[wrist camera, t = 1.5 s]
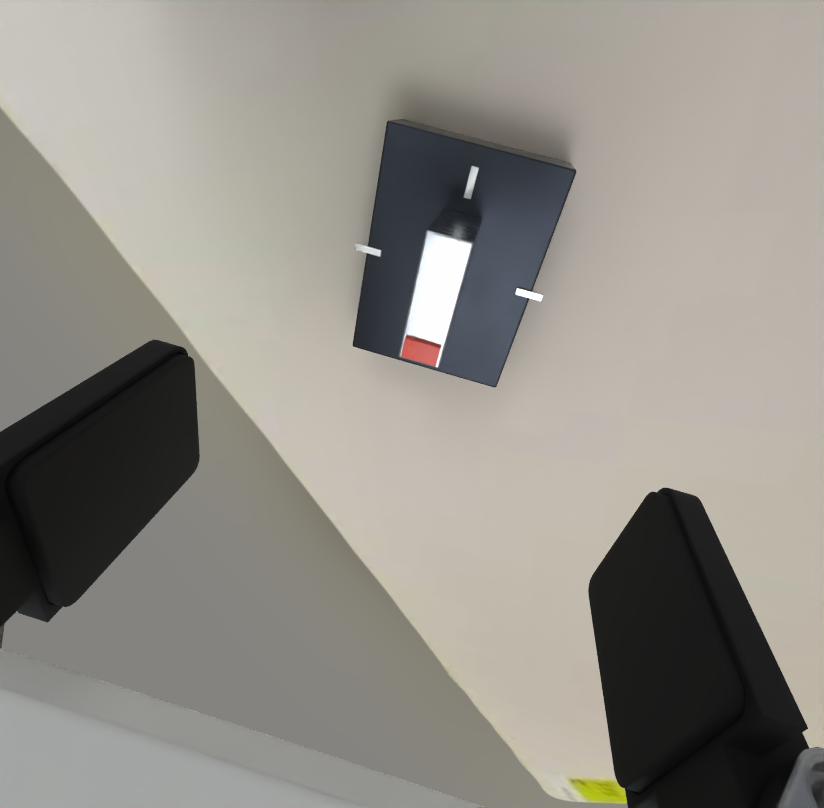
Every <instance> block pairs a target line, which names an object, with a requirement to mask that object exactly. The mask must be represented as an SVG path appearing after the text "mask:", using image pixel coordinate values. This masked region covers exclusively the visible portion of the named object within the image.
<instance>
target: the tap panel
mask: <svg viewBox="0 0 824 808" xmlns="http://www.w3.org/2000/svg"><path fill="white" fill-rule="evenodd" d="M575 174H576V170H575V168H574V167H573V166H572V164H570V163H567V162H564V161H560V160H556V159H552V158H548V157H545V156H541V155H537V154H533V153H529V152H525V151H522V150H518V149H514V148H510V147H506V146H503V145H499V144H495V143H491V142H487V141H483V140H480V139H476V138H472V137H468V136H464V135H461V134H457V133H453V132H449V131H445V130H441V129H438V128H434V127H430V126H426V125H422V124H419V123H415V122H411V121H407V120H403V119H401V120H392V121H388V122H387V126H386V132H385V139H384V145H383V152H382V158H381V165H380V171H379V178H378V184H377V190H376V197H375V203H374V210H373V216H372V223H371V229H370V236H369V242H368V246H367V245H364V244H360V243H356V247H355V250H358V251H361V252H365V253H367V255H366V262H365V268H364V275H363V281H362V288H361V294H360V301H359V307H358V314H357V320H356V327H355V333H354V340H353V346H354V347H357V348H360V349H364V350H367V351H371V352H374V353H378V354H381V355H385V356H388V357H391V358H395V359H398V360H402V361H405V362H409V363H412V364H416V365H419V366H423V367H426V368H429V369H433V370H436V371H440V372H443V373H447V374H450V375H454V376H457V377H460V378H464V379H467V380H471V381H474V382H478V383H481V384H485V385H488V386H492V387H496V386H497V383H498V381H499V378H500V375H501V373H502V370H503V367H504V365H505V362H506V359H507V357H508V354H509V351H510V349H511V346H512V343H513V341H514V338H515V335H516V333H517V330H518V327H519V324H520V322H521V319H522V316H523V314H524V311H525V308H526V306H527V303H528V300H529V298H530V299H534V300H537V301H541V300H542V298H543V294H540V293H537V292H533V291H532V290H533V287H534V284H535V282H536V279H537V276H538V274H539V271H540V268H541V266H542V263H543V260H544V258H545V255H546V252H547V249H548V247H549V244H550V241H551V239H552V236H553V233H554V231H555V228H556V225H557V223H558V220H559V217H560V215H561V212H562V209H563V207H564V204H565V201H566V199H567V196H568V193H569V191H570V188H571V185H572V182H573V180H574V177H575ZM443 209H449V210H453V211H456V212H460V213H464V214H467V215H471V216H475V217H478V218H481V219H482V224H481V227H480V231H479V234H478V238H477V241H476V245H475V248H474V252H473V255H472V259H471V262H470V266H469V269H468V273H467V276H466V280H465V283H464V287H463V290H462V294H461V297H460V301H459V305H458V308H457V312H456V315H455V319H454V322H453V326H452V329H451V332H450V335H449V338H448V341H447V344H446V347H445V350H444V353H443V356H442V359H441V362H440V365H439V367H438V368H436V367H432V366H429V365H425V364H422V363H418V362H415V361H412V360H408V359H405V358H401V357H399V352H400V347H401V342H402V338H403V333H404V329H405V324H406V320H407V315H408V311H409V306H410V302H411V297H412V293H413V288H414V284H415V279H416V275H417V270H418V265H419V261H420V256H421V252H422V247H423V243H424V238H425V234H426V231H427V230H428V228H429V227H430V226H431V224H432V223H433V222H434V221H435V219H436V218H437V217H438V216H439V214H440V213H441V212H442V211H443Z"/></svg>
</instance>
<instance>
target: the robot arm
mask: <svg viewBox="0 0 824 808" xmlns="http://www.w3.org/2000/svg"><path fill="white" fill-rule="evenodd" d="M198 463H199V438H198V421H197V402H196V384H195V367H194V361H193V359H192V358H191V357H189V356H188V353H187V351H186V349H184V348H183V347H180V346H176V345H173V344H169V343H166V342H162V341H159V340H152V341H149V342H148V343H146V344H144V345H143V346H141V347H139V348H138V349H136V350H135V351H133V352H131V353H130V354H128V355H126V356H125V357H123V358H121V359H120V360H118V361H116V362H115V363H113V364H111V365H110V366H108V367H107V368H105V369H103V370H102V371H100V372H98V373H97V374H95V375H93V376H92V377H90V378H88V379H87V380H85V381H83V382H82V383H80V384H78V385H77V386H75V387H74V388H72V389H70V390H69V391H67V392H65V393H64V394H62V395H61V396H59V397H57V398H55V399H54V400H52V401H50V402H49V403H47V404H46V405H44V406H42V407H41V408H39V409H37V410H36V411H34V412H32V413H31V414H29V415H28V416H26V417H24V418H23V419H21V420H19V421H18V422H16V423H14V424H13V425H11V426H9V427H8V428H6V429H4V430H3V431H1V432H0V808H486V807H483V806H480V805H477V804H474V803H471V802H468V801H465V800H462V799H459V798H456V797H453V796H450V795H447V794H444V793H441V792H438V791H435V790H432V789H429V788H426V787H423V786H420V785H417V784H415V783H412V782H408V781H405V780H403V779H400V778H396V777H394V776H391V775H388V774H384V773H381V772H378V771H375V770H372V769H369V768H366V767H363V766H360V765H357V764H354V763H351V762H348V761H345V760H342V759H339V758H336V757H333V756H330V755H327V754H324V753H321V752H318V751H315V750H312V749H309V748H306V747H303V746H300V745H297V744H294V743H291V742H288V741H285V740H282V739H278V738H276V737H272V736H270V735H267V734H264V733H260V732H258V731H255V730H251V729H248V728H245V727H242V726H239V725H236V724H233V723H230V722H227V721H224V720H221V719H218V718H215V717H212V716H209V715H206V714H203V713H200V712H196V711H194V710H191V709H188V708H185V707H181V706H179V705H175V704H172V703H169V702H166V701H163V700H160V699H157V698H154V697H151V696H148V695H144V694H142V693H138V692H135V691H132V690H129V689H126V688H123V687H120V686H117V685H114V684H111V683H107V682H105V681H101V680H98V679H95V678H92V677H89V676H86V675H83V674H80V673H77V672H74V671H71V670H67V669H65V668H61V667H58V666H55V665H52V664H49V663H46V662H43V661H40V660H37V659H34V658H31V657H27V656H24V655H21V654H18V653H14V652H11V651H8V650H4V649H1V646H2V639H3V631H4V623H5V622H6V621H7V620H8V619H9V618H10V617H11V616H12V615H13V614H14V613H15V612H16V611H18V613H20V614H23V615H27V616H30V617H33V618H36V619H39V620H42V621H45V622H49V621H50V619H51V618H52V617H53V616H54V615H55V614H56V613H57V612H58V611H59V610H60V609H61V608H62V607H63V606H64V607H67V606H70V605H72V604H73V603H75V602H76V601H77V600H78V599H79V598H80V597H81V596H82V595H83V594H84V592H86V590H87V589H88V588H89V587H90V586H91V585H92V584H93V583H94V582H95V580H96V579H97V578H98V577H99V576H100V575H101V574H102V573H103V572H104V571H105V570H106V569H107V567H108V566H109V565H110V564H111V563H112V562H113V561H114V560H115V559H116V558H117V556H118V555H119V554H120V553H121V552H122V551H123V550H124V549H125V548H126V547H127V546H128V544H129V543H130V542H131V541H132V540H133V539H134V538H135V537H136V536H137V535H138V533H139V532H140V531H141V530H142V529H143V528H144V527H145V526H146V525H147V524H148V523H149V521H150V520H151V519H152V518H153V517H154V516H155V515H156V514H157V513H158V512H159V510H160V509H161V508H162V507H163V506H164V505H165V504H166V503H167V502H168V500H169V499H170V498H171V497H172V496H173V495H174V494H175V493H176V492H177V491H178V490H179V489H180V487H181V486H182V485H183V484H184V483H185V482H186V481H187V480H188V479H189V477H190V476H191V475H192V474H193V473H194V472H195V470H196V468H197V466H198ZM589 600H590V607H591V614H592V621H593V628H594V635H595V641H596V648H597V655H598V662H599V669H600V676H601V683H602V690H603V696H604V703H605V710H606V717H607V724H608V731H609V738H610V745H611V751H612V758H613V765H614V772H615V776H616V779H617V782H618V784H619V785H620V786H621V787H623V788H625V791H626V798H627V804H628V808H824V748H819V747H814V748H810V749H809V746H808V744H807V742H806V740H805V738H804V736H803V733H802V732H803V731H805V730H806V729H808V727H807V725H806V723H805V721H804V719H803V717H802V714H801V712H800V710H799V708H798V706H797V704H796V702H795V700H794V697H793V695H792V693H791V691H790V689H789V687H788V685H787V683H786V681H785V678H784V676H783V674H782V672H781V670H780V668H779V666H778V664H777V662H776V659H775V657H774V655H773V653H772V651H771V649H770V647H769V645H768V642H767V640H766V638H765V636H764V634H763V632H762V630H761V628H760V626H759V623H758V621H757V619H756V617H755V615H754V613H753V611H752V609H751V606H750V604H749V602H748V600H747V598H746V596H745V594H744V592H743V590H742V587H741V585H740V583H739V581H738V579H737V577H736V575H735V573H734V570H733V568H732V566H731V564H730V562H729V560H728V558H727V556H726V554H725V551H724V549H723V547H722V545H721V543H720V541H719V539H718V537H717V535H716V532H715V530H714V528H713V526H712V524H711V522H710V520H709V518H708V515H707V513H706V511H705V509H704V507H703V505H702V503H701V501H700V500H699V498H698V497H696V496H694V495H690V494H687V493H684V492H680V491H677V490H673V489H670V488H662V489H660V490H659V491H658V492H650V493H649V494H648V495H647V496H646V497H645V499H644V500H643V502H642V503H641V505H640V506H639V508H638V509H637V511H636V512H635V514H634V515H633V517H632V518H631V519H630V521H629V522H628V524H627V525H626V527H625V528H624V530H623V531H622V533H621V534H620V536H619V537H618V539H617V540H616V541H615V543H614V544H613V546H612V547H611V549H610V550H609V552H608V553H607V555H606V556H605V558H604V559H603V561H602V562H601V563H600V565H599V566H598V568H597V569H596V571H595V572H594V574H593V575H592V577H591V580H590V583H589Z"/></svg>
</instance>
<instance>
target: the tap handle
mask: <svg viewBox="0 0 824 808" xmlns="http://www.w3.org/2000/svg"><path fill="white" fill-rule="evenodd" d="M481 224H482V219H481V218H478V217H475V216H471V215H467V214H464V213H460V212H456V211H453V210H449V209H443V211H442V212H441V213H440V214H439V216H438V217H437V218H436V219H435V221H434V222H433V223H432V224H431V226H430V227H429V228H428V230H427V231H426V234H425V238H424V243H423V247H422V252H421V256H420V261H419V265H418V270H417V275H416V279H415V284H414V288H413V293H412V297H411V302H410V306H409V311H408V315H407V320H406V324H405V329H404V333H403V338H402V342H401V347H400V352H399V357H401V358H405V359H408V360H412V361H415V362H418V363H422V364H425V365H429V366H432V367H436V368H438V367H439V365H440V362H441V359H442V356H443V353H444V350H445V347H446V344H447V341H448V338H449V335H450V332H451V329H452V326H453V322H454V319H455V315H456V312H457V308H458V305H459V301H460V297H461V294H462V290H463V287H464V283H465V280H466V276H467V273H468V269H469V266H470V262H471V259H472V255H473V252H474V248H475V245H476V241H477V238H478V234H479V231H480V227H481Z"/></svg>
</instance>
